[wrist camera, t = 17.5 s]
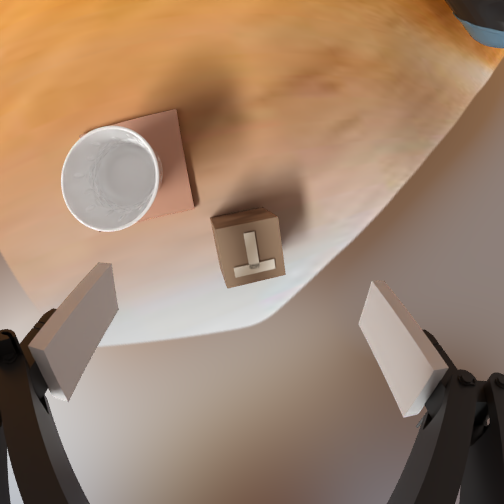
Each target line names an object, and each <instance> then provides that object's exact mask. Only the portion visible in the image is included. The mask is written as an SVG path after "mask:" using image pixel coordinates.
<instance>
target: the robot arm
mask: <svg viewBox="0 0 504 504" xmlns="http://www.w3.org/2000/svg"><path fill="white" fill-rule="evenodd" d="M445 1H446V3H447V4H448V5H449V7H450V8H451V9H452V11H453V14H454V16H455V17H456V18H457V19H458V20H459V21H460V22H461V23H462V24H463V26H464V27H465V29H466V30H467V31H468V33H469V34H470V36H471V37H472V38H473V39H475V40H476V41H478V42H479V43H481V44H483V45H486V46H490V47H495V48H504V0H445ZM118 310H119V309H118V304H117V298H116V291H115V285H114V278H113V271H112V264H110V263H98V264H97V265H96V266H95V267H94V268H93V269H92V270H91V271H90V272H89V273H88V274H87V275H86V277H85V278H84V279H83V280H82V281H81V282H80V283H79V284H78V285H77V287H76V288H75V289H74V290H73V291H72V292H71V293H70V295H69V296H68V297H67V298H66V299H65V300H64V302H63V303H62V304H61V305H60V306H59V307H58V309H54V308H53V309H51V310H50V311H48V312H47V313H45V314H44V315H43V316H42V317H41V318H40V320H39V321H38V323H36V324H35V326H34V328H32V329H31V331H30V332H29V333H28V334H27V335H26V337H25V338H24V339H23V341H22V342H21V343H20V344H19V342H18V339H17V337H16V335H15V333H14V332H13V331H12V330H8V329H4V330H0V504H11V503H10V495H9V484H8V468H7V449H8V453H9V457H10V461H11V465H12V468H13V472H14V475H15V479H16V482H17V485H18V488H19V491H20V494H21V497H22V500H23V503H24V504H90V503H89V502H88V500H87V498H86V496H85V494H84V492H83V490H82V489H81V486H80V484H79V482H78V480H77V478H76V476H75V473H74V471H73V469H72V467H71V464H70V463H69V460H68V458H67V455H66V453H65V450H64V448H63V445H62V443H61V440H60V437H59V434H58V431H57V429H56V426H55V423H54V420H53V417H52V414H51V411H50V407H49V404H48V400H47V398H46V396H45V392H46V391H47V389H49V390H50V392H51V394H52V396H53V397H54V398H57V399H60V400H64V401H67V402H68V401H69V400H70V397H71V396H72V394H73V392H74V390H75V388H76V386H77V383H78V381H79V380H80V378H81V376H82V374H83V372H84V370H85V368H86V366H87V364H88V363H89V361H90V359H91V357H92V355H93V353H94V352H95V350H96V348H97V346H98V344H99V343H100V341H101V339H102V337H103V335H104V334H105V332H106V330H107V328H108V327H109V325H110V323H111V322H112V320H113V318H114V316H115V315H116V313H117V311H118ZM359 326H360V328H361V330H362V332H363V334H364V336H365V338H366V340H367V342H368V344H369V346H370V348H371V350H372V352H373V354H374V356H375V358H376V360H377V362H378V364H379V366H380V368H381V370H382V372H383V374H384V376H385V378H386V381H387V383H388V385H389V387H390V389H391V391H392V393H393V395H394V398H395V400H396V402H397V404H398V406H399V409H400V411H401V413H402V415H403V417H408V416H412V415H417V414H418V413H419V412H420V411H421V409H422V408H423V406H424V405H425V406H426V408H427V410H428V411H427V412H426V414H425V415H424V417H423V418H422V419H421V421H420V422H419V423H418V424H417V426H416V427H417V428H418V427H419V426H420V425H421V427H420V429H419V433H418V435H417V438H416V441H415V443H414V446H413V448H412V451H411V454H410V456H409V458H408V461H407V463H406V465H405V468H404V470H403V472H402V474H401V477H400V479H399V481H398V483H397V485H396V487H395V489H394V491H393V493H392V495H391V497H390V499H389V501H388V503H387V504H455V502H456V498H457V495H458V492H459V489H460V485H461V489H460V503H459V504H504V375H503V374H501V373H493V374H491V376H490V377H489V379H488V380H487V381H477V380H476V378H475V377H474V376H473V375H472V374H471V373H469V372H468V371H466V370H457V368H456V367H455V366H454V364H453V363H452V361H451V360H450V358H449V357H448V356H447V354H446V353H445V351H443V349H442V347H441V346H440V345H439V343H438V342H437V340H436V339H435V338H434V336H433V335H432V334H430V333H429V332H427V331H426V330H422V329H421V328H420V326H419V325H418V324H417V322H416V321H415V320H414V319H413V317H412V316H411V314H410V313H409V312H408V310H407V309H406V308H405V307H404V305H403V304H402V303H401V302H400V300H399V299H398V298H397V296H396V295H395V294H394V293H393V291H392V290H391V289H390V288H389V286H388V285H387V284H386V283H385V281H372V282H371V285H370V289H369V292H368V295H367V299H366V302H365V305H364V308H363V311H362V315H361V318H360V321H359ZM489 418H490V424H489V425H487V419H489Z"/></svg>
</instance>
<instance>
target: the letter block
mask: <svg viewBox="0 0 504 504" xmlns="http://www.w3.org/2000/svg"><path fill="white" fill-rule="evenodd" d="M210 219H211V224H212V229H213V234H214V239H215V244H216V249H217V254H218V259H219V264H220V268H221V271H222V274H223V277H224V280H225V283H226V286H227V288H231V287H236V286H240V285H244V284H249V283H253V282H257V281H261V280H265V279H270V278H274V277H278V276H282V275H286V274H285V266H284V258H283V251H282V243H281V235H280V228H279V220H278V216H276V215H274V214H273V213H271V212H269V211H268V210H266V209H264V208H263V207H262V208H257V209H252V210H246V211H241V212H236V213H231V214H227V215H222V216H217V217H212V218H210Z"/></svg>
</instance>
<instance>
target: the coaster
mask: <svg viewBox="0 0 504 504" xmlns="http://www.w3.org/2000/svg"><path fill="white" fill-rule="evenodd" d="M111 126H122V127H126V128H129V129H131V130H133V131H135V132H137V133H138V134H140V135H141V136H142V137H143V138H144V139H145V140H146V141H147V142H148V143H149V144H150V145H151V146H152V147H153V148H154V149H155V151H156V152H157V154H158V156H159V158H160V160H161V164H162V168H163V177H162V182H161V186H160V189H159V191H158V194H157V196H156V198H155V199H154V201H153V203H152V205H151V207H150V208H149V210H148V211H147V212H146V214H145V215H144V216H143V217H142V218H141V219H140V220H138V221H137V222H140V221H144V220H148V219H152V218H157V217H161V216H165V215H169V214H174V213H178V212H183V211H187V210H192V209H194V204H193V199H192V194H191V189H190V184H189V178H188V173H187V168H186V162H185V157H184V151H183V146H182V140H181V134H180V128H179V122H178V116H177V110H176V109H174V110H169V111H164V112H160V113H156V114H151V115H147V116H143V117H139V118H135V119H132V120H128V121H124V122H121V123H117V124H114V125H111ZM86 134H87V133H86ZM84 135H85V134H83V135H80V138H81V137H82V136H84ZM99 232H101V231H99Z"/></svg>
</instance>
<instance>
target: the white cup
mask: <svg viewBox="0 0 504 504" xmlns="http://www.w3.org/2000/svg"><path fill="white" fill-rule="evenodd" d="M162 177H163V168H162V164H161V160H160V158H159V156H158V154H157V152H156V151H155V149H154V148H153V147H152V146H151V145H150V144H149V143H148V142H147V141H146V140H145V139H144V138H143V137H142V136H141V135H140V134H138V133H137V132H135V131H133V130H131V129H129V128H126V127H122V126H104V127H100V128H97V129H94V130H92V131H90V132H88V133H87V134H85V135H84V136H82V137H81V138H80V139H79V140H78V141H77V142H76V143H75V144H74V145H73V147H72V148H71V150H70V151H69V153H68V155H67V157H66V159H65V162H64V165H63V169H62V175H61V187H62V193H63V197H64V200H65V203H66V205H67V207H68V209H69V210H70V212H71V213H72V214H73V216H74V217H75V218H76V219H77V220H78V221H80V222H81V223H82V224H84V225H85V226H87V227H89V228H92V229H94V230H98V231H105V232H111V231H118V230H122V229H125V228H127V227H129V226H131V225H133V224H134V223H136V222H137V221H138V220H140V219H141V218H142V217H143V216H144V215H145V214H146V212H147V211H148V210H149V208H150V207H151V205H152V203H153V201H154V199H155V198H156V196H157V194H158V191H159V189H160V186H161V182H162Z"/></svg>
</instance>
